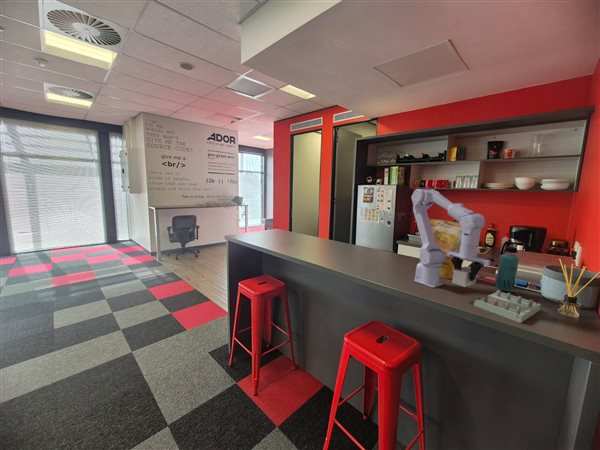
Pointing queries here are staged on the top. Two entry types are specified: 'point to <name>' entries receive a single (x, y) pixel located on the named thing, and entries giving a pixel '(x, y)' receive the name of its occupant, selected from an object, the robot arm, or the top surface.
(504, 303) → the tray
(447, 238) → the pancake mix bag
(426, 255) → the robot arm
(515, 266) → the beverage bottle
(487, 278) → the smartphone
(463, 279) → the block
